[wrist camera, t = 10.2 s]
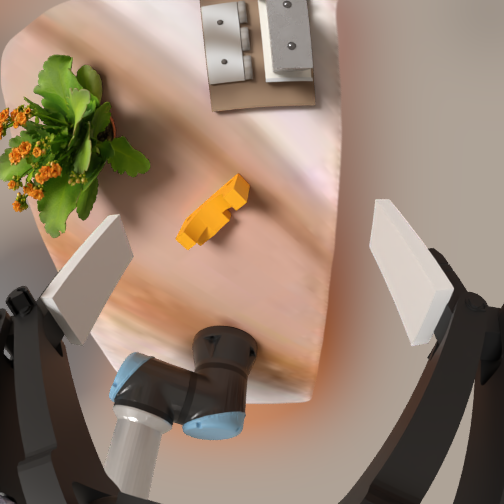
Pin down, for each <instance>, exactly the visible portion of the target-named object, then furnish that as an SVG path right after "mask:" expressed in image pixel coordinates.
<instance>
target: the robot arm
mask: <svg viewBox="0 0 504 504" xmlns="http://www.w3.org/2000/svg"><path fill="white" fill-rule="evenodd" d="M369 247H370V249H371V252H372V254H373V256H374V258H375V260H376V262H377V264H378V266H379V268H380V271H381V273H382V275H383V277H384V279H385V282H386V284H387V286H388V288H389V291H390V293H391V295H392V298H393V300H394V303H395V305H396V307H397V310H398V312H399V315H400V317H401V320H402V322H403V325H404V327H405V330H406V333H407V335H408V338H409V341H410V343H411V346H416V345H421V344H427V343H429V341H430V339H431V337H432V335H433V333H434V334H435V337H436V339H437V342H436V344H435V346H434V348H433V349H432V351H431V353H430V354H429V356H428V359H429V360H428V362H427V365H426V367H425V369H424V371H423V373H422V376H421V378H420V380H419V382H418V384H417V386H416V388H415V390H414V392H413V394H412V396H411V398H410V400H409V402H408V404H407V405H406V408H405V409H404V411H403V413H402V415H401V416H400V418H399V420H398V422H397V423H396V425H395V427H394V428H393V430H392V432H391V433H390V435H389V437H388V438H387V440H386V441H385V443H384V445H383V446H382V448H381V449H380V451H379V452H378V454H377V455H376V457H375V458H374V459H373V461H372V462H371V464H370V465H369V467H368V468H367V469H366V471H365V472H364V473H363V475H362V476H361V477H360V479H359V480H358V481H357V483H356V484H355V485H354V486H353V488H352V489H351V490H350V492H349V493H348V494H347V495H346V496H345V497H344V498H343V499H342V500H341V501H340V502H339V503H338V504H420V503H421V501H422V499H423V497H424V496H425V494H426V493H427V491H428V489H429V487H430V486H431V484H432V482H433V480H434V478H435V477H436V475H437V473H438V471H439V469H440V467H441V465H442V463H443V461H444V459H445V457H446V455H447V452H448V450H449V448H450V446H451V444H452V441H453V439H454V437H455V434H456V432H457V429H458V427H459V424H460V421H461V419H462V416H463V414H464V411H465V408H466V405H467V402H468V399H469V396H470V393H471V390H472V386H473V383H474V379H475V385H474V400H473V410H472V411H473V412H472V419H471V427H470V434H469V440H468V446H467V451H466V456H465V461H464V466H463V471H462V474H461V478H460V482H459V486H458V489H457V493H456V496H455V499H454V502H453V504H504V304H503V306H502V307H501V308H495V307H489V306H488V305H487V303H486V301H485V300H484V299H483V298H482V297H481V296H479V295H478V294H475V293H473V292H467V290H466V288H465V287H464V285H463V284H462V282H461V281H460V279H459V278H458V276H457V275H456V273H455V272H454V271H453V269H452V268H451V266H450V265H448V262H447V261H446V259H445V258H444V256H443V255H442V254H441V253H439V252H438V251H437V250H435V249H434V248H430V249H428V248H427V247H426V246H425V244H424V243H423V242H422V240H421V239H420V238H419V236H418V235H417V234H416V232H415V231H414V230H413V228H412V227H411V226H410V224H409V223H408V222H407V220H406V219H405V218H404V217H403V215H402V214H401V213H400V212H399V210H398V209H397V208H396V207H395V206H394V204H393V203H392V202H391V201H390V200H389V199H376V200H375V208H374V217H373V224H372V231H371V238H370V245H369ZM133 257H134V256H133V253H132V250H131V247H130V244H129V241H128V238H127V236H126V233H125V230H124V226H123V223H122V220H121V217H120V214H117V215H109V216H107V218H106V219H105V220H104V221H103V222H102V223H101V224H100V225H99V226H98V227H97V228H96V229H95V231H94V232H93V233H92V234H91V235H90V236H89V237H88V238H87V239H86V241H85V242H84V243H83V244H82V245H81V246H80V248H79V249H78V250H77V251H76V252H75V253H74V255H73V256H72V257H71V258H70V259H69V261H68V262H67V263H66V264H65V266H64V267H63V268H62V269H61V270H60V271H59V272H58V273H57V275H56V276H55V278H53V280H52V281H51V283H50V284H49V285H48V286H47V288H46V289H45V290H44V292H43V293H42V294H41V296H40V297H39V299H38V300H37V301H35V300H34V298H33V296H32V295H31V293H30V291H29V290H28V288H27V287H26V286H21V287H18V288H17V289H15V290H14V291H12V292H11V293H10V294H9V296H8V297H7V300H6V304H7V305H8V307H9V309H10V310H11V312H12V313H13V315H14V316H9V314H8V313H7V311H6V310H5V309H0V504H160V503H157V502H153V501H150V500H148V497H149V492H150V487H151V482H152V477H153V472H154V468H155V463H156V459H157V454H158V449H159V445H160V441H161V436H162V434H164V433H166V432H168V431H170V430H171V429H172V425H173V422H174V423H178V424H181V425H183V427H182V428H183V432H184V433H185V434H186V435H189V436H191V437H194V438H198V439H206V440H221V439H229V438H232V437H235V436H237V435H238V434H240V433H241V431H242V429H243V423H244V418H245V416H246V415H245V406H246V392H247V378H248V375H249V373H250V370H251V368H252V366H253V364H254V362H255V360H256V357H257V344H256V342H255V340H254V339H253V338H252V337H251V336H250V335H249V334H247V333H246V332H244V331H242V330H239V329H236V328H233V327H227V326H213V327H208V328H205V329H203V330H201V331H199V332H198V333H197V334H196V336H195V338H194V342H193V346H192V350H193V356H194V363H195V372H192V371H189V370H186V369H183V368H180V367H178V366H175V365H172V364H169V363H167V362H164V361H161V360H159V359H156V358H155V357H153V356H147V355H144V354H141V353H138V352H134V353H131V354H130V355H129V356H128V357H127V358H126V359H125V361H124V362H123V364H122V365H121V367H120V369H119V371H118V373H117V375H116V377H115V379H114V383H113V385H112V387H111V389H110V393H109V397H110V399H111V400H112V401H113V402H115V404H114V406H113V411H114V413H115V415H116V416H117V419H118V420H117V424H116V427H115V430H114V434H113V437H112V441H111V444H110V448H109V451H108V455H107V459H106V463H105V466H104V468H103V466H102V464H101V461H100V459H99V457H98V454H97V452H96V449H95V447H94V444H93V442H92V439H91V437H90V434H89V431H88V428H87V425H86V423H85V420H84V417H83V413H82V410H81V407H80V404H79V400H78V398H77V394H76V390H75V387H74V383H73V379H72V375H71V371H70V366H69V362H68V358H67V353H66V348H65V345H64V343H63V342H62V338H63V336H64V335H65V336H66V337H67V339H68V340H69V342H70V343H71V344H76V345H82V346H83V345H84V343H85V341H86V339H87V337H88V335H89V333H90V331H91V329H92V328H93V326H94V324H95V322H96V320H97V318H98V316H99V315H100V313H101V311H102V309H103V307H104V306H105V304H106V302H107V300H108V298H109V297H110V295H111V293H112V292H113V290H114V288H115V286H116V285H117V283H118V281H119V280H120V278H121V276H122V275H123V273H124V271H125V270H126V268H127V266H128V265H129V263H130V262H131V260H132V258H133ZM4 348H5V349H6V350H7V351H8V353H9V354H10V355H11V358H10V360H9V359H8V358H7V357H6V356H5V355H4Z"/></svg>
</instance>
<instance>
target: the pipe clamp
mask: <svg viewBox="0 0 504 504" xmlns="http://www.w3.org/2000/svg"><path fill="white" fill-rule="evenodd" d="M249 187H250V185H249V184H248V183H247V182H246V181H245V180H244V178H243V177H242V176H241V175H240V174H239V173H238V174H237V175H236V176H234V177H233V178H232V179H231V180H230V181H228V182H227V183H226V184H225V185H224V186H223V187H221V188H220V189H219V190H218V191H217V192H216V193H214V194H213V195H212V196H211V197H210V198H209V199H208V200H207V201H205V202H204V203H203V204H202V205H201V206H200V207H199V208H198V209H196V210H195V211H194V212H193V213H192V214H191V215H190V216H189V217H188V218H186V220H185V222H184V223H183V225H182V227H181V229H180V231H179V233H178V235H177V237H176V240H177V241H178V242H179V243H180V244H181V245H182V246H183V247H185V248H186V249H187V250H189V249H190V248H191V247H193V246H194V245H195V244H196V243H198V244H199V245H200V246H201V245H203V244H204V243H205V242H206V241H207V240H209V239H210V238H211V237H212V236H214V235H215V234H216V233H217V232H218V231H219V230H220V229H221V228H222V227H223V226H224V225H225V224H226V223H227V222H229V221H230V218H231V213H230V212H229V211H228V210H227V209H228V208H230V207H233V208H234V209H235V210H236V211H237V210H238V209H239V208H240V207H242V206H243V205H244V204H245V203H247V199H248V193H249Z"/></svg>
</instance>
